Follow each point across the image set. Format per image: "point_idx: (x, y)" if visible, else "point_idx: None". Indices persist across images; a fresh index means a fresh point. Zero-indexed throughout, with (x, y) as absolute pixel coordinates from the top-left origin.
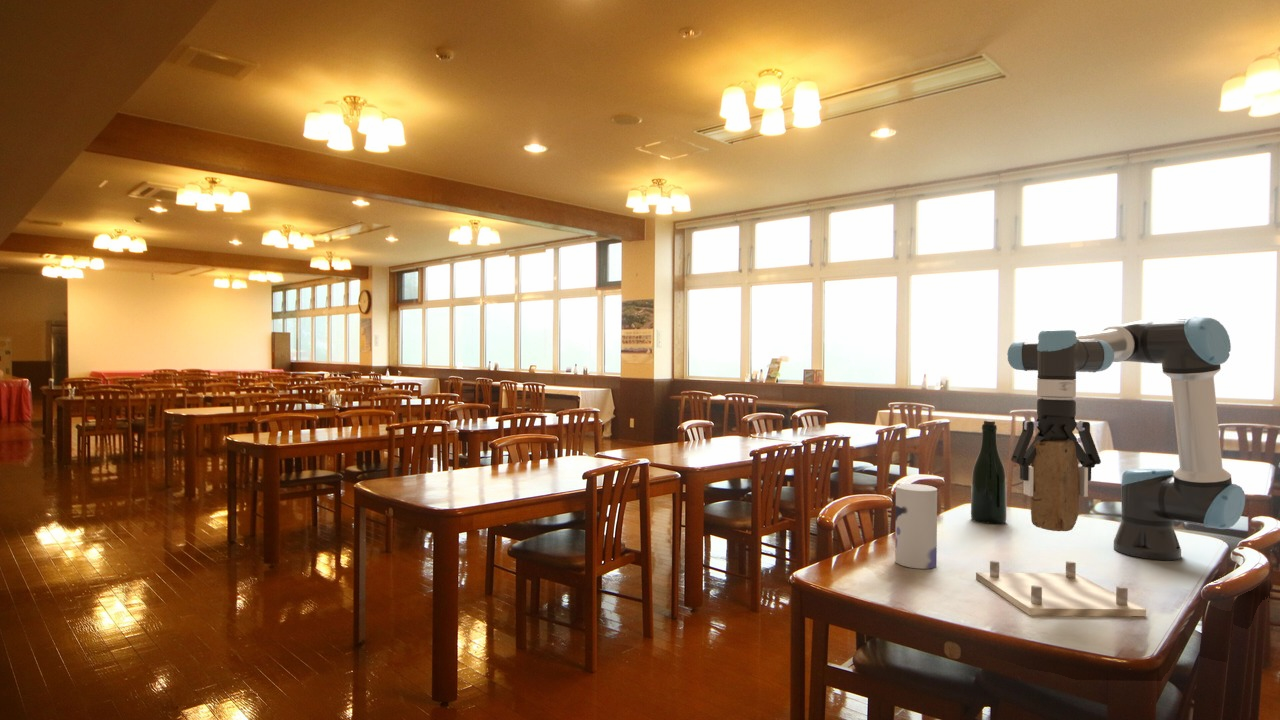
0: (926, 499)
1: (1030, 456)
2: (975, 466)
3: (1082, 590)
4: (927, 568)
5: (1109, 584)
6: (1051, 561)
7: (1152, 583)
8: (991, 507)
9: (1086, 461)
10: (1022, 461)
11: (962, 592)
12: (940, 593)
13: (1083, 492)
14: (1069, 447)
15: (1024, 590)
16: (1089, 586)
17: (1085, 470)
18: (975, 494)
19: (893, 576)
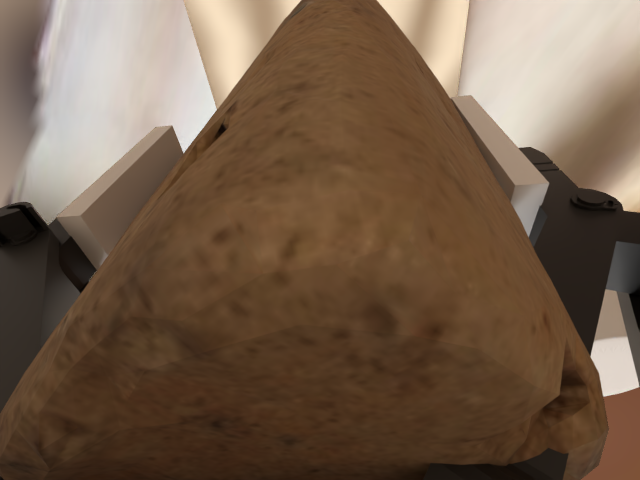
0: (602, 315)
1: (599, 255)
2: None
3: (262, 46)
4: None
5: (182, 145)
6: None
7: (101, 161)
8: None
9: (33, 253)
10: (635, 230)
11: (546, 39)
12: (614, 21)
13: (166, 141)
14: (97, 273)
15: (409, 23)
16: (236, 83)
17: (87, 202)
18: None
19: (632, 144)
